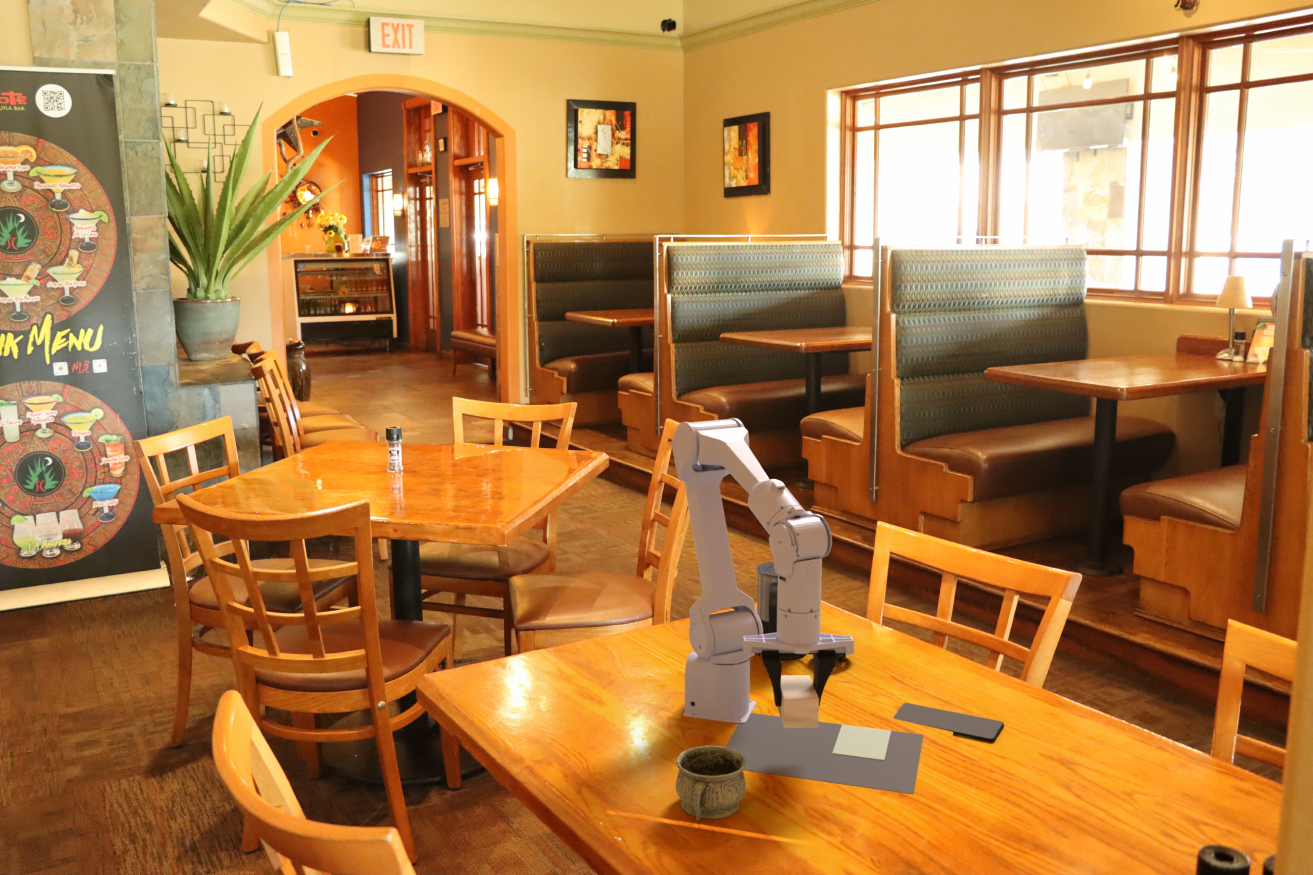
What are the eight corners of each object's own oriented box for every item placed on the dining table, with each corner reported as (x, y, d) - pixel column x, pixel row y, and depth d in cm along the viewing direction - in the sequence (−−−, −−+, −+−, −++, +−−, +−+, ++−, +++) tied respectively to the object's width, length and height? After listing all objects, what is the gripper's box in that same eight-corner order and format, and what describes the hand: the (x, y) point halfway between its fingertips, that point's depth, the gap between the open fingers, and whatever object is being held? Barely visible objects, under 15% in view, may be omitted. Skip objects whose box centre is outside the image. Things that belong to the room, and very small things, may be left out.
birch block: (776, 702, 151) (776, 675, 150) (808, 702, 151) (809, 675, 150) (783, 727, 143) (784, 698, 142) (818, 727, 143) (818, 698, 142)
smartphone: (904, 701, 167) (1004, 721, 160) (904, 707, 167) (1004, 727, 160) (889, 718, 161) (993, 739, 154) (889, 723, 161) (993, 745, 154)
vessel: (731, 837, 130) (732, 787, 128) (661, 824, 132) (661, 775, 131) (756, 790, 141) (757, 744, 140) (691, 779, 144) (691, 734, 143)
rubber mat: (714, 768, 147) (714, 764, 146) (744, 714, 163) (744, 711, 163) (913, 796, 139) (913, 792, 139) (923, 737, 156) (923, 733, 156)
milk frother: (749, 642, 194) (751, 561, 191) (836, 638, 196) (839, 558, 193) (766, 672, 180) (767, 585, 177) (859, 668, 182) (862, 582, 179)
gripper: (746, 616, 141) (745, 716, 143) (859, 616, 141) (856, 715, 143) (742, 599, 148) (740, 694, 150) (849, 598, 148) (846, 694, 150)
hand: (796, 703), depth 147 cm, fingers closed on birch block, 4 cm apart
